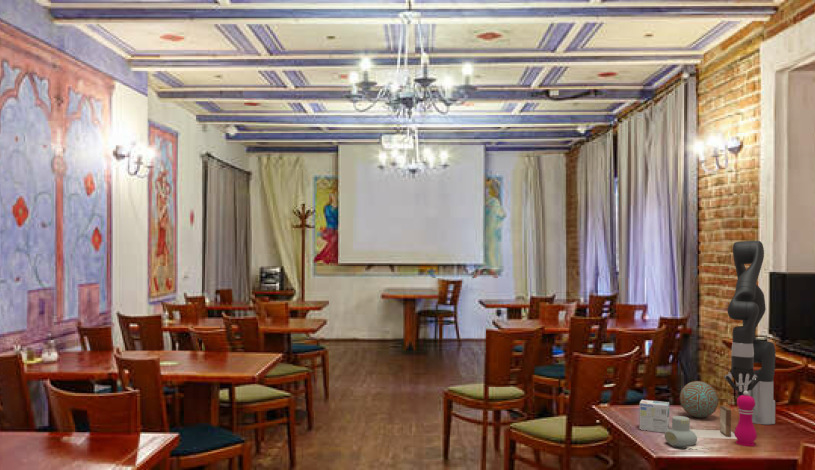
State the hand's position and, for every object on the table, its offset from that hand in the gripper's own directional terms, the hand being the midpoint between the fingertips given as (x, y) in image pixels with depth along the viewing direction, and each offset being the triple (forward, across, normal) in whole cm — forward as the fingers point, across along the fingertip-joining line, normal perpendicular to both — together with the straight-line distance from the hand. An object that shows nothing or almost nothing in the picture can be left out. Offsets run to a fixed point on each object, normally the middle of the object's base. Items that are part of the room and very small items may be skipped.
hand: (741, 401), depth 270 cm
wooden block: (+13, +6, 0) cm, 14 cm away
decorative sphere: (+14, +6, -33) cm, 36 cm away
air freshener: (+14, +26, +14) cm, 33 cm away
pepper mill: (+14, +3, +12) cm, 19 cm away
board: (+14, +12, 0) cm, 18 cm away
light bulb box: (+14, +30, -8) cm, 34 cm away
